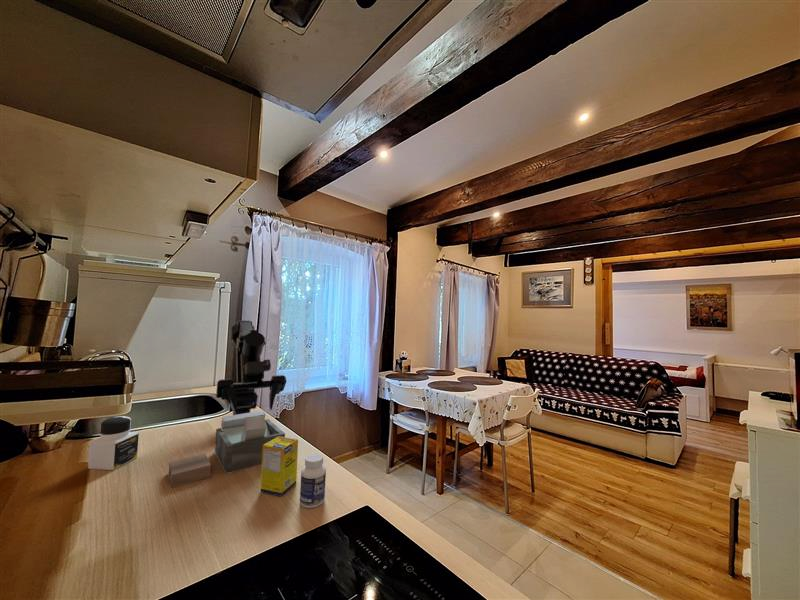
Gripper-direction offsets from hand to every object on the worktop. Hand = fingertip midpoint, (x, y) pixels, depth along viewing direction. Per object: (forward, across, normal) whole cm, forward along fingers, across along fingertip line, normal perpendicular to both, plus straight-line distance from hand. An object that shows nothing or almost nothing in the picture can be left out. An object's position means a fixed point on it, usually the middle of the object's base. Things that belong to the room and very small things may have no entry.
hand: (254, 411), depth 89 cm
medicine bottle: (-1, -32, +20) cm, 38 cm away
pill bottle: (+29, +9, -10) cm, 32 cm away
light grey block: (+6, 0, +8) cm, 10 cm away
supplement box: (+23, +4, -3) cm, 23 cm away
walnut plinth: (+11, -15, +8) cm, 20 cm away
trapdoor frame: (+7, 0, +12) cm, 14 cm away
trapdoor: (+3, -1, +10) cm, 11 cm away
